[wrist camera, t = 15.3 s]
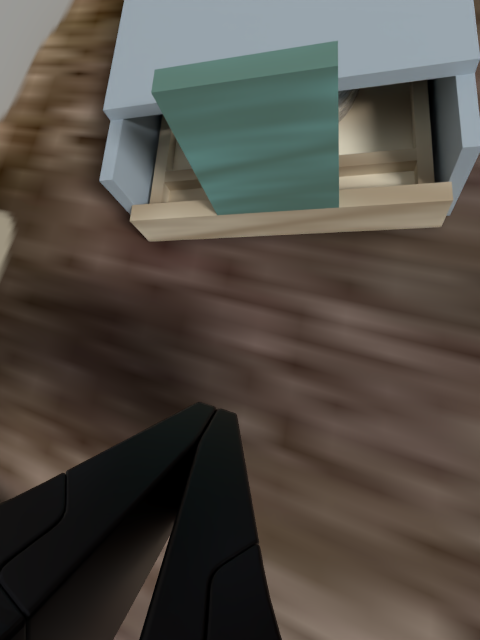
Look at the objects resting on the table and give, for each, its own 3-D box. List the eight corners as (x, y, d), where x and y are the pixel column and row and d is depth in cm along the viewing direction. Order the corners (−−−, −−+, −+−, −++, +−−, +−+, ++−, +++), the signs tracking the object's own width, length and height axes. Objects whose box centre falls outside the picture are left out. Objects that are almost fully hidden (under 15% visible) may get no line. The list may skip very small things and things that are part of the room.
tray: (440, 226, 17) (527, 38, 9) (149, 241, 20) (25, 110, 12) (423, -15, 21) (473, -298, 13) (179, 29, 24) (98, -175, 16)
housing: (449, 215, 18) (489, 132, 13) (146, 232, 21) (90, 171, 16) (430, -18, 21) (455, -147, 17) (175, 29, 25) (137, -68, 20)
